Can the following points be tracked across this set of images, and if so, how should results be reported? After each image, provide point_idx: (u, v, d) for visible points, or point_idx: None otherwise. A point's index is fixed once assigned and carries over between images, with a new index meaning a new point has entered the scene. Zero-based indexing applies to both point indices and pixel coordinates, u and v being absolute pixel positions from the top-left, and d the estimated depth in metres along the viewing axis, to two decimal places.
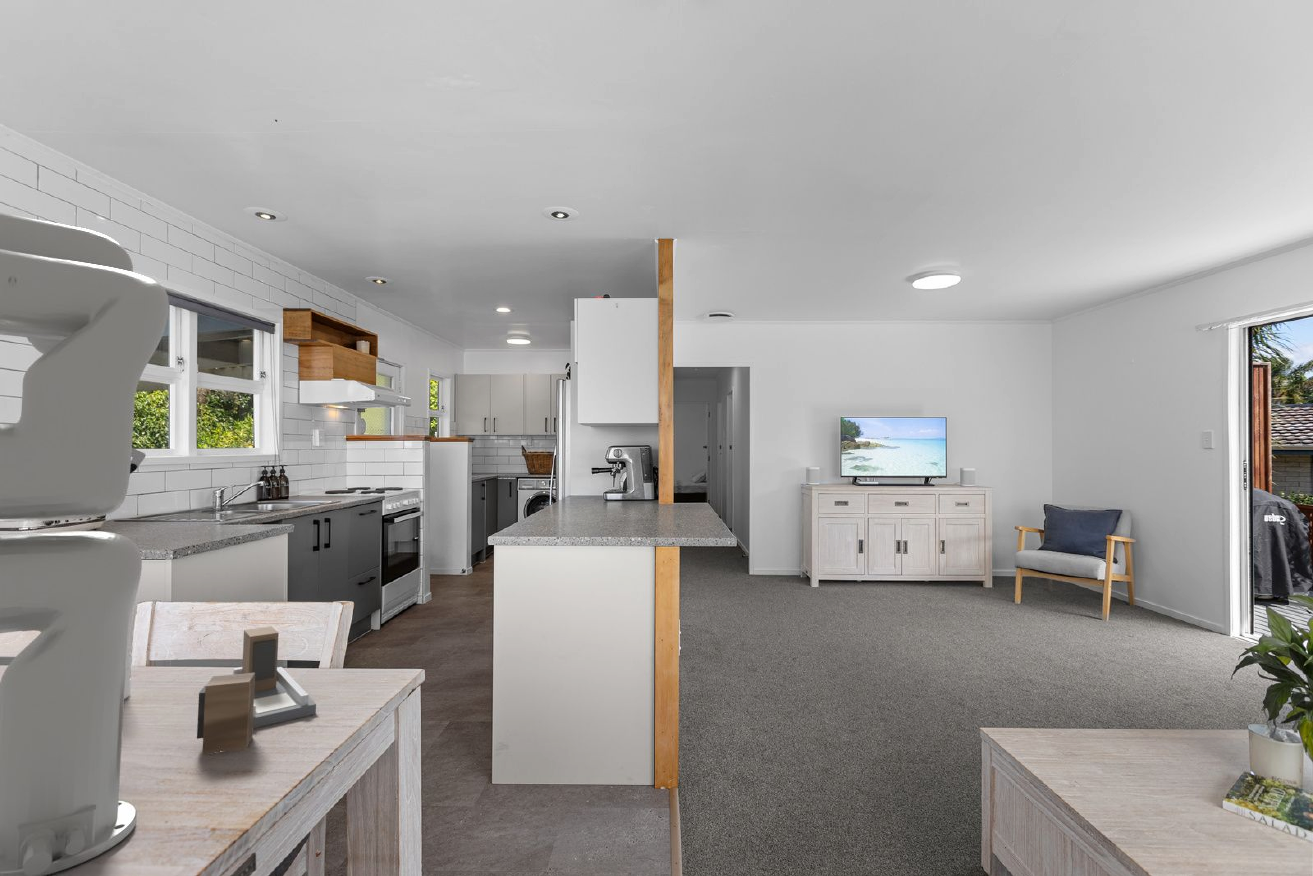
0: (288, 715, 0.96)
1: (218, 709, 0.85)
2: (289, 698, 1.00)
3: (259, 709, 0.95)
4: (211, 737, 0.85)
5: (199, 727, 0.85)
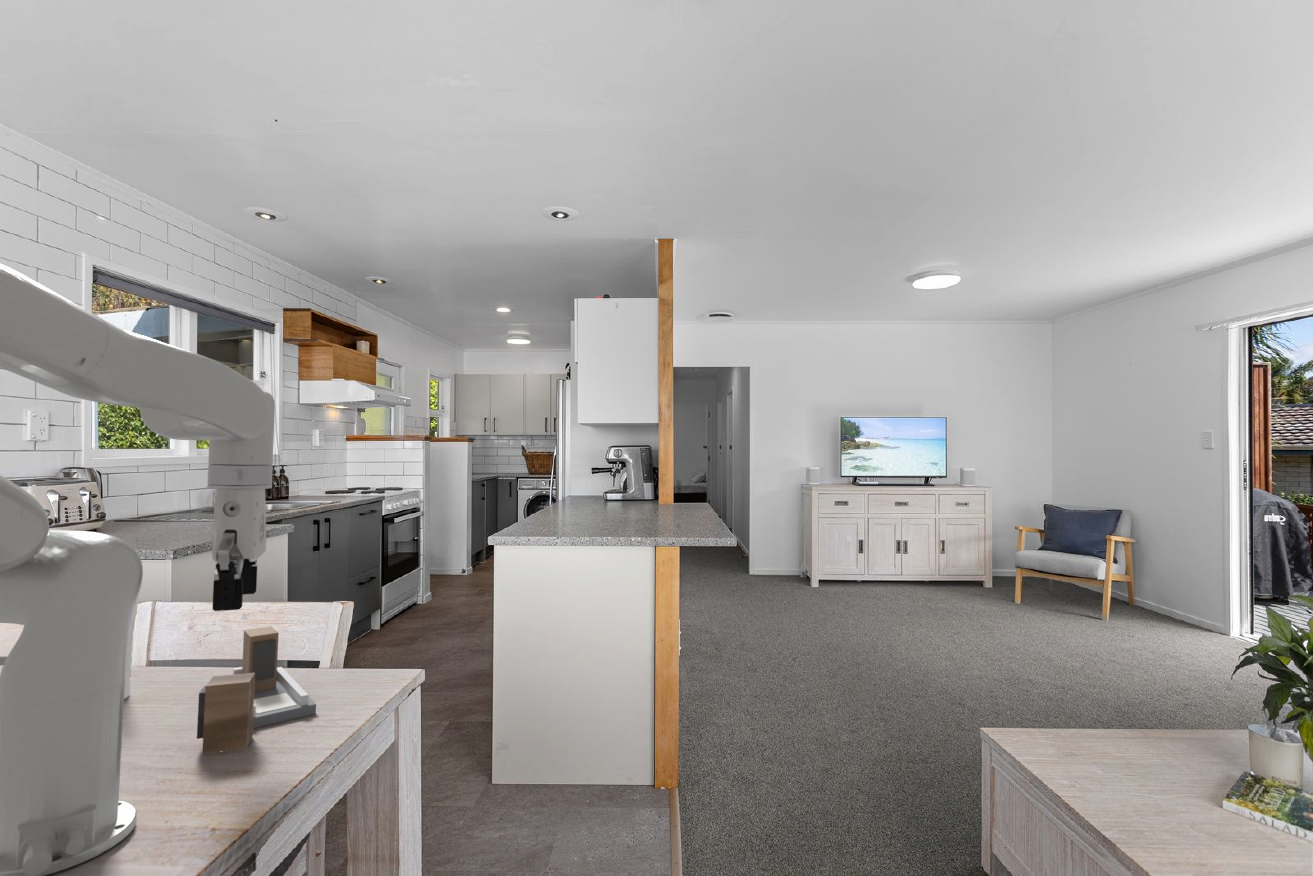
0: (288, 715, 0.96)
1: (218, 709, 0.85)
2: (289, 698, 1.00)
3: (259, 709, 0.95)
4: (211, 737, 0.85)
5: (199, 727, 0.85)
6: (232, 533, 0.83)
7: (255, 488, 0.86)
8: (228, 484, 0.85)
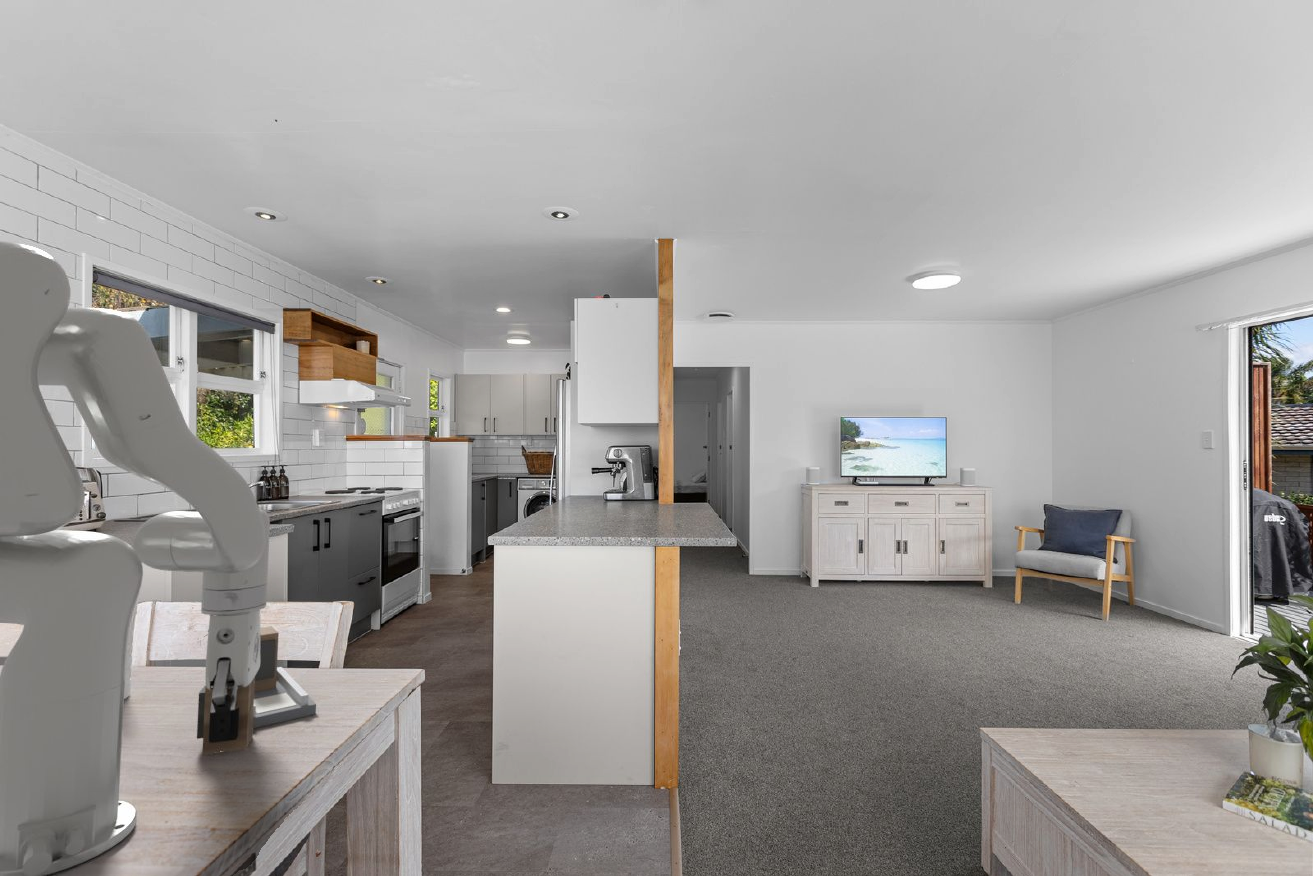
0: (288, 715, 0.96)
1: None
2: (289, 698, 1.00)
3: (259, 709, 0.95)
4: None
5: (199, 727, 0.85)
6: (226, 665, 0.83)
7: (249, 611, 0.86)
8: (222, 610, 0.84)
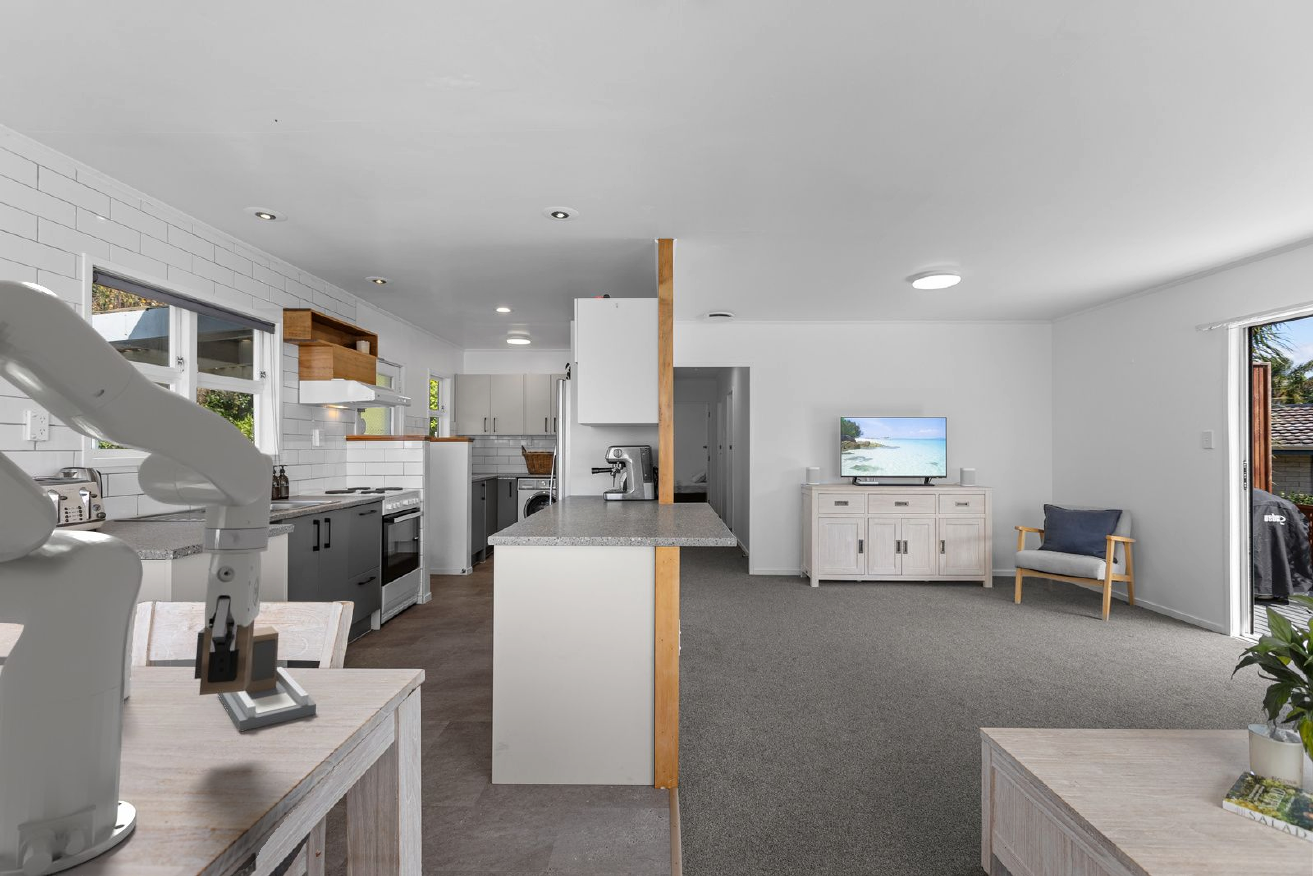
0: (288, 715, 0.96)
1: None
2: (289, 698, 1.00)
3: (259, 709, 0.95)
4: None
5: (197, 667, 0.84)
6: (226, 605, 0.83)
7: (250, 552, 0.86)
8: (223, 548, 0.84)
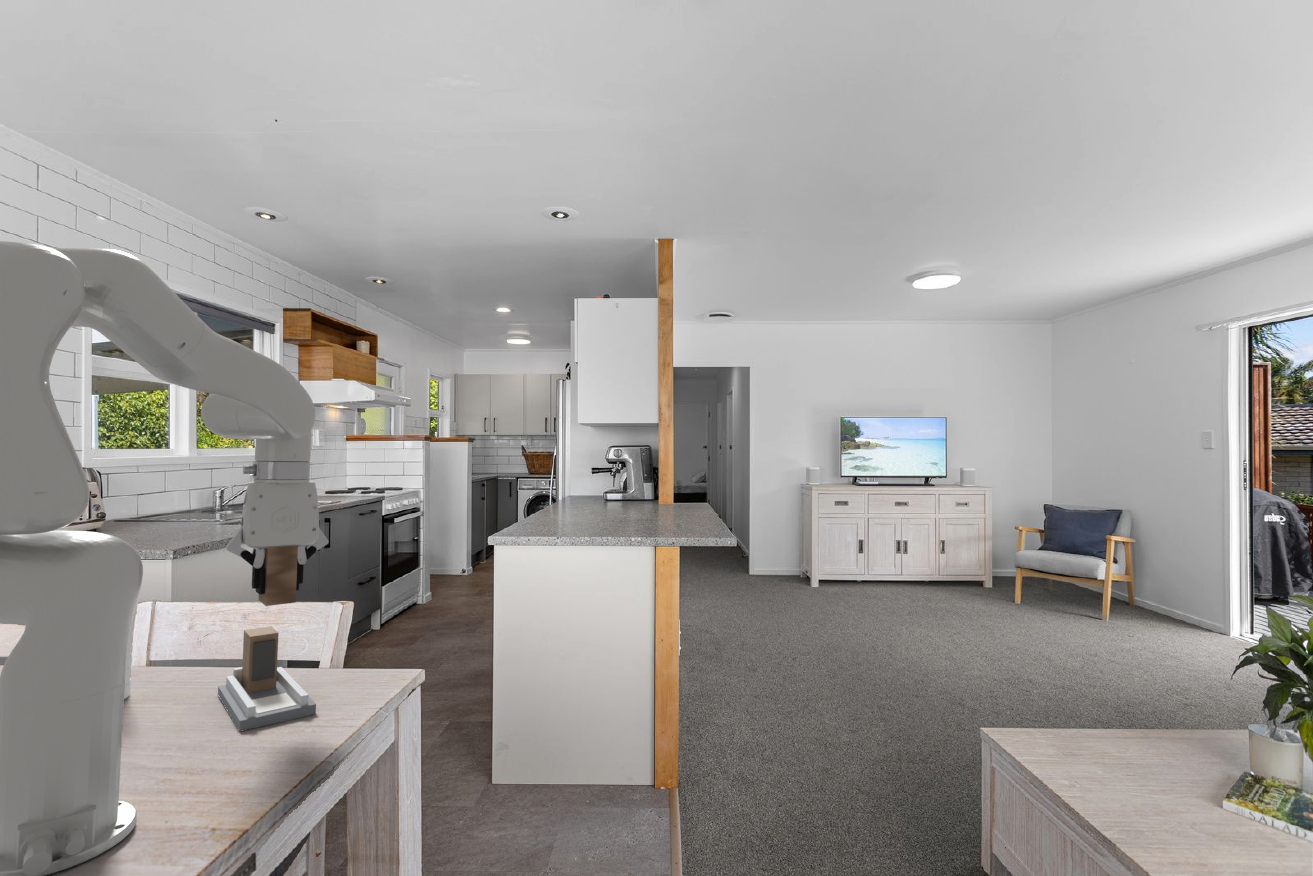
0: (288, 715, 0.96)
1: None
2: (289, 698, 1.00)
3: (259, 709, 0.95)
4: None
5: None
6: (243, 525, 0.95)
7: (262, 482, 0.95)
8: (253, 477, 0.97)
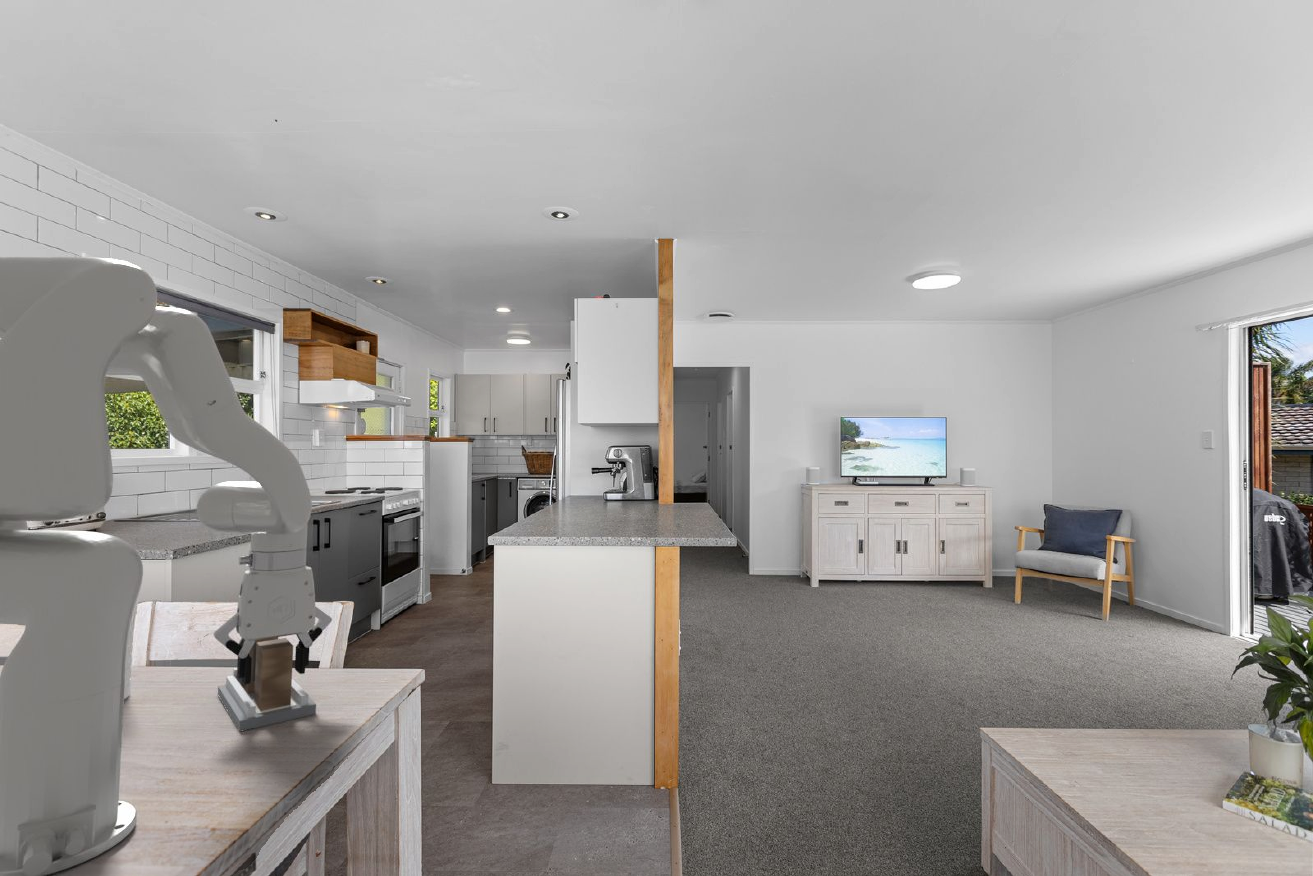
0: (288, 715, 0.96)
1: (257, 666, 0.97)
2: None
3: None
4: (255, 688, 0.98)
5: None
6: (237, 614, 0.95)
7: (258, 573, 0.95)
8: None
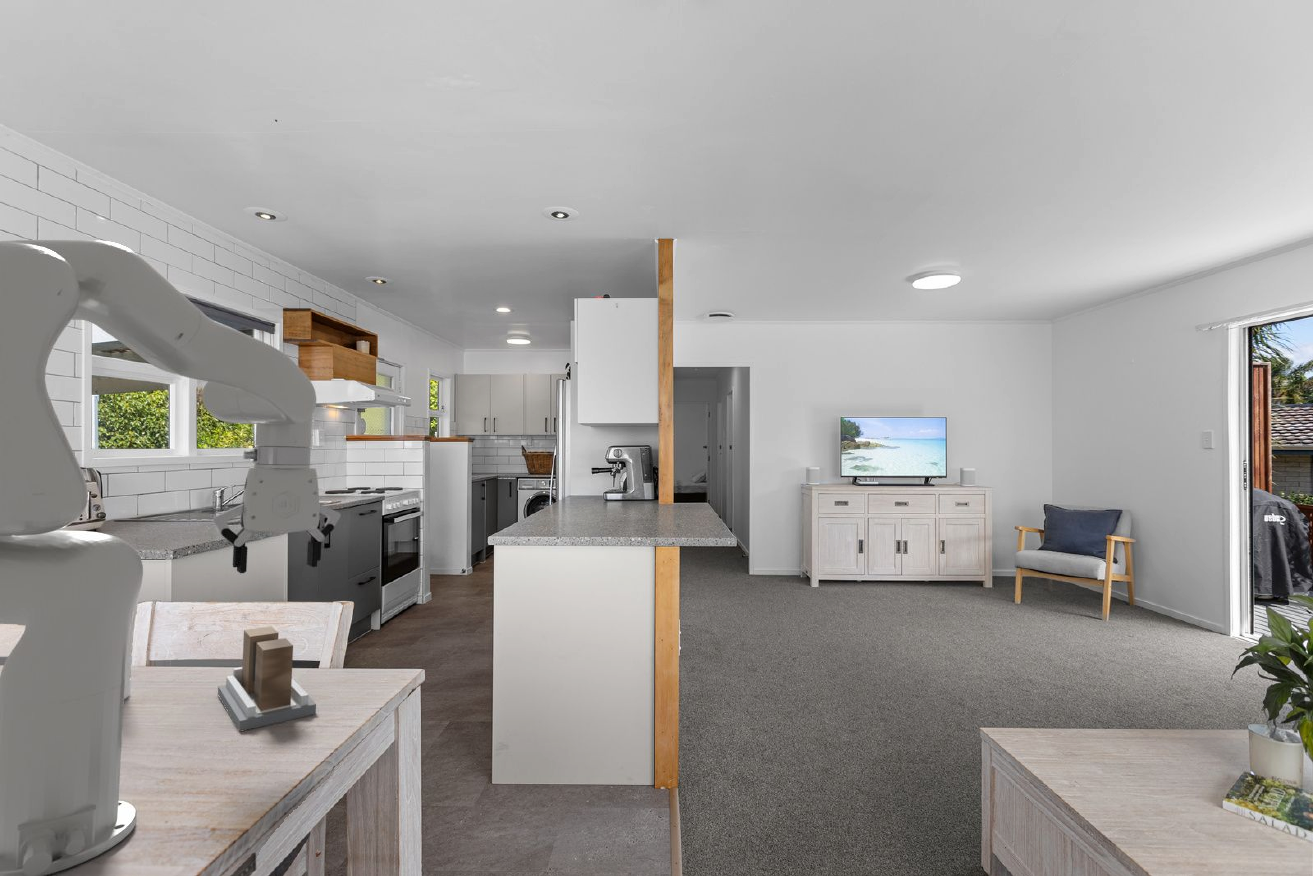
0: (288, 715, 0.96)
1: (257, 666, 0.98)
2: None
3: None
4: (255, 688, 0.98)
5: None
6: (241, 505, 0.95)
7: (263, 467, 0.96)
8: None
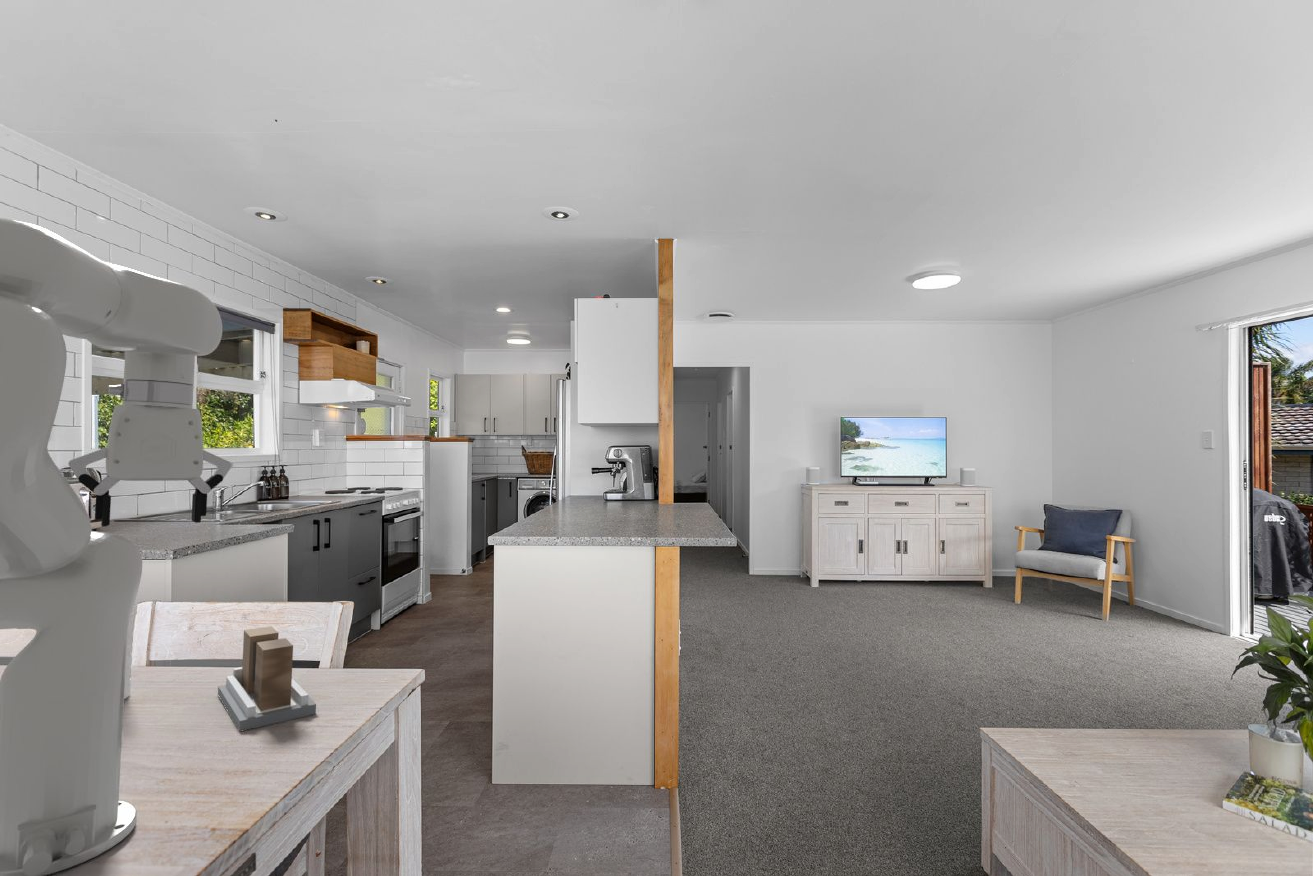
0: (288, 715, 0.96)
1: (257, 666, 0.98)
2: None
3: None
4: (255, 688, 0.98)
5: None
6: (104, 448, 0.82)
7: (130, 404, 0.82)
8: None
